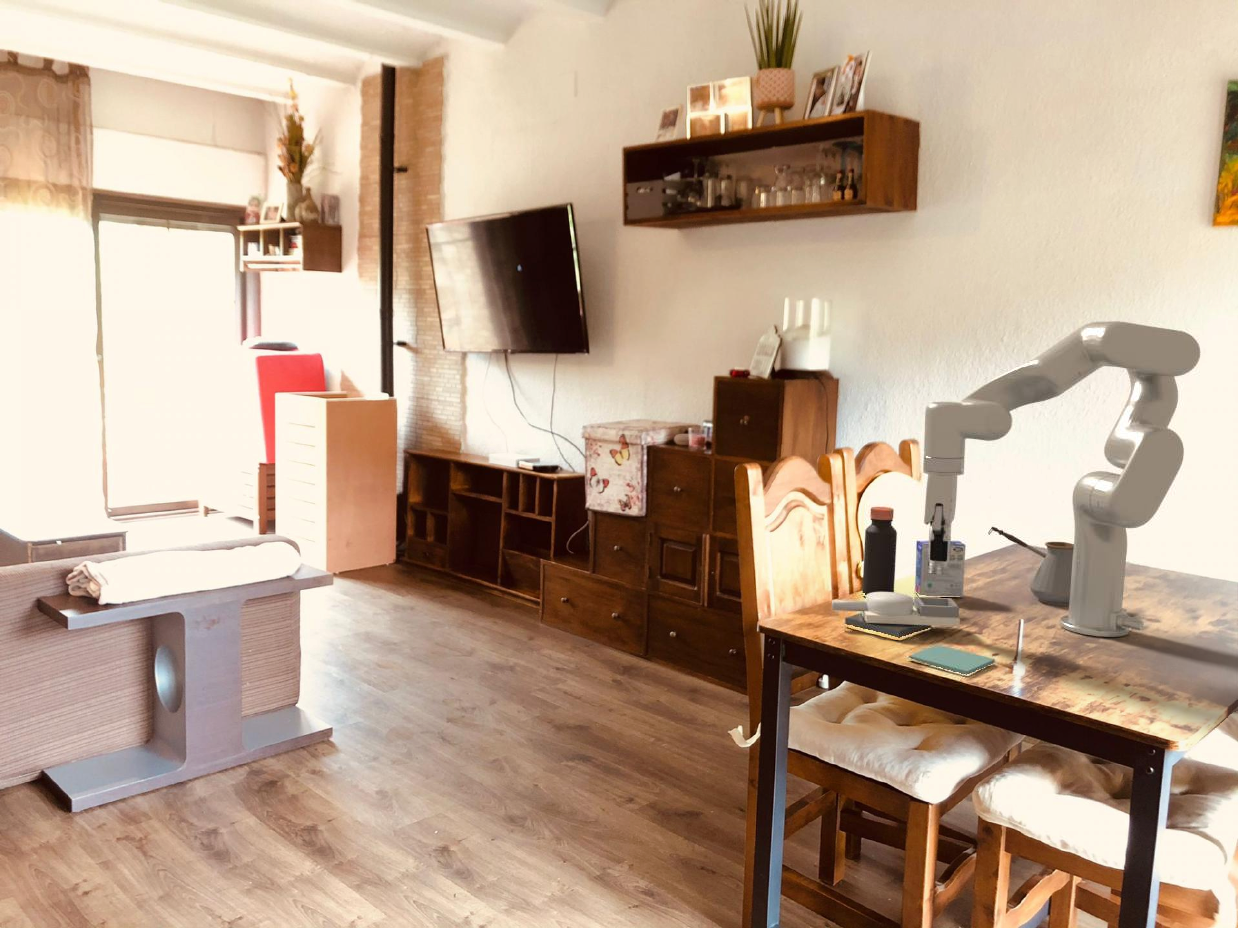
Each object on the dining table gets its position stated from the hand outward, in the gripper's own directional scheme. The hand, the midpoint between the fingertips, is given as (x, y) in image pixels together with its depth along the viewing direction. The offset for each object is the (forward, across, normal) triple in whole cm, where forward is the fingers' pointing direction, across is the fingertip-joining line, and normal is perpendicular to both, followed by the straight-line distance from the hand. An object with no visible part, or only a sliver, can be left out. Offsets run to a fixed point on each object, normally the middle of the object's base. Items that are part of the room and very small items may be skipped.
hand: (939, 557), depth 194 cm
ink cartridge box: (+15, -28, -3) cm, 32 cm away
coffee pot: (+15, -37, +16) cm, 43 cm away
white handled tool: (+12, +4, -8) cm, 15 cm away
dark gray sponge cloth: (+14, +4, -9) cm, 17 cm away
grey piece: (+3, 0, 0) cm, 3 cm away
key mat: (+14, +20, +5) cm, 25 cm away
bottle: (+15, -20, -15) cm, 29 cm away
